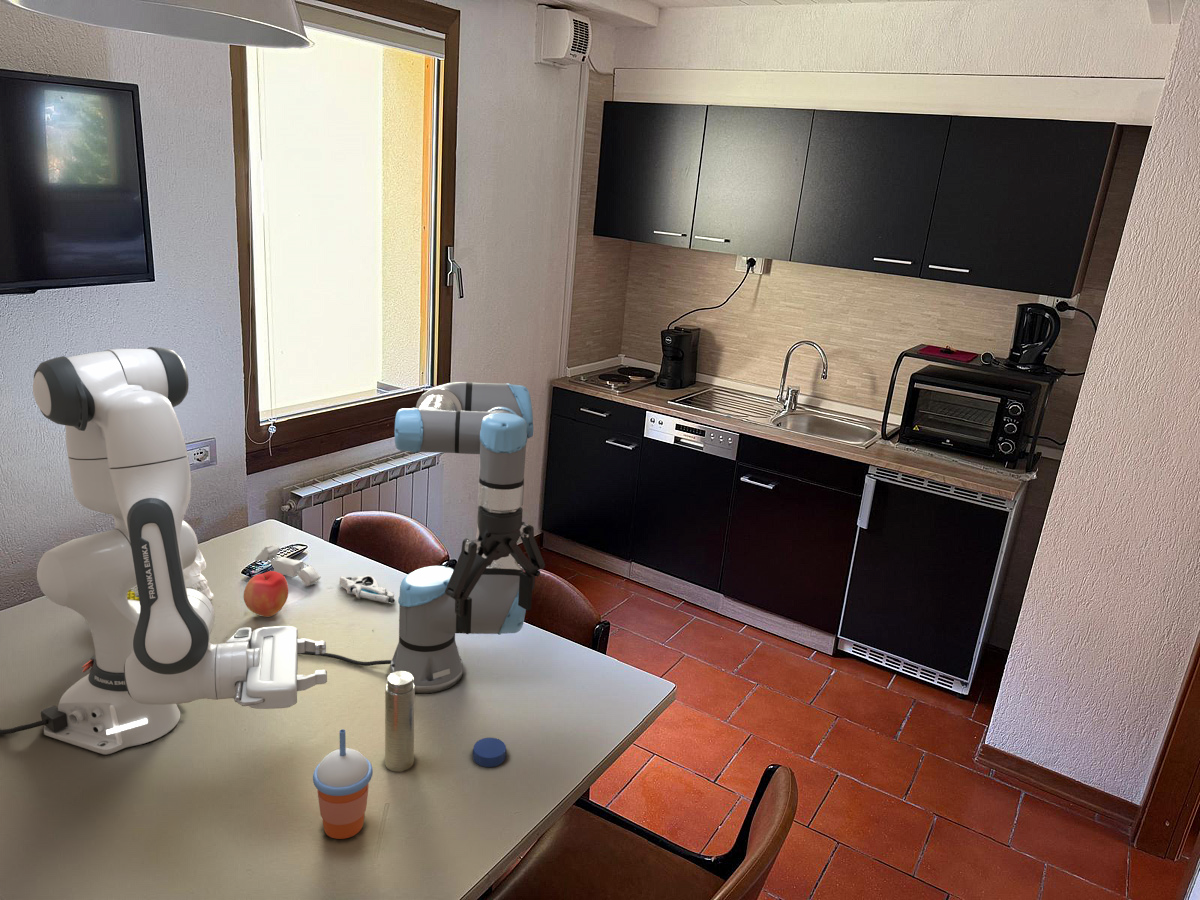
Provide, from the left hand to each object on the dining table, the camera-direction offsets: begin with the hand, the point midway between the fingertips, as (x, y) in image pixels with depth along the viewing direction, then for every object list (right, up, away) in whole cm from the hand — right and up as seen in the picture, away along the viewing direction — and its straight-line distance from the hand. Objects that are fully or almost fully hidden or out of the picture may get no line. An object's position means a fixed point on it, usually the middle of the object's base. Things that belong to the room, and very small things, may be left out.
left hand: (326, 661), depth 144 cm
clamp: (-35, +3, +76) cm, 84 cm away
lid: (+26, -20, +14) cm, 35 cm away
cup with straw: (+5, -26, -5) cm, 26 cm away
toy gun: (-12, -1, +71) cm, 72 cm away
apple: (-32, -3, +57) cm, 65 cm away
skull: (-56, 0, +62) cm, 83 cm away
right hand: (+28, +6, +6) cm, 29 cm away
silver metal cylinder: (+10, -21, +11) cm, 25 cm away
